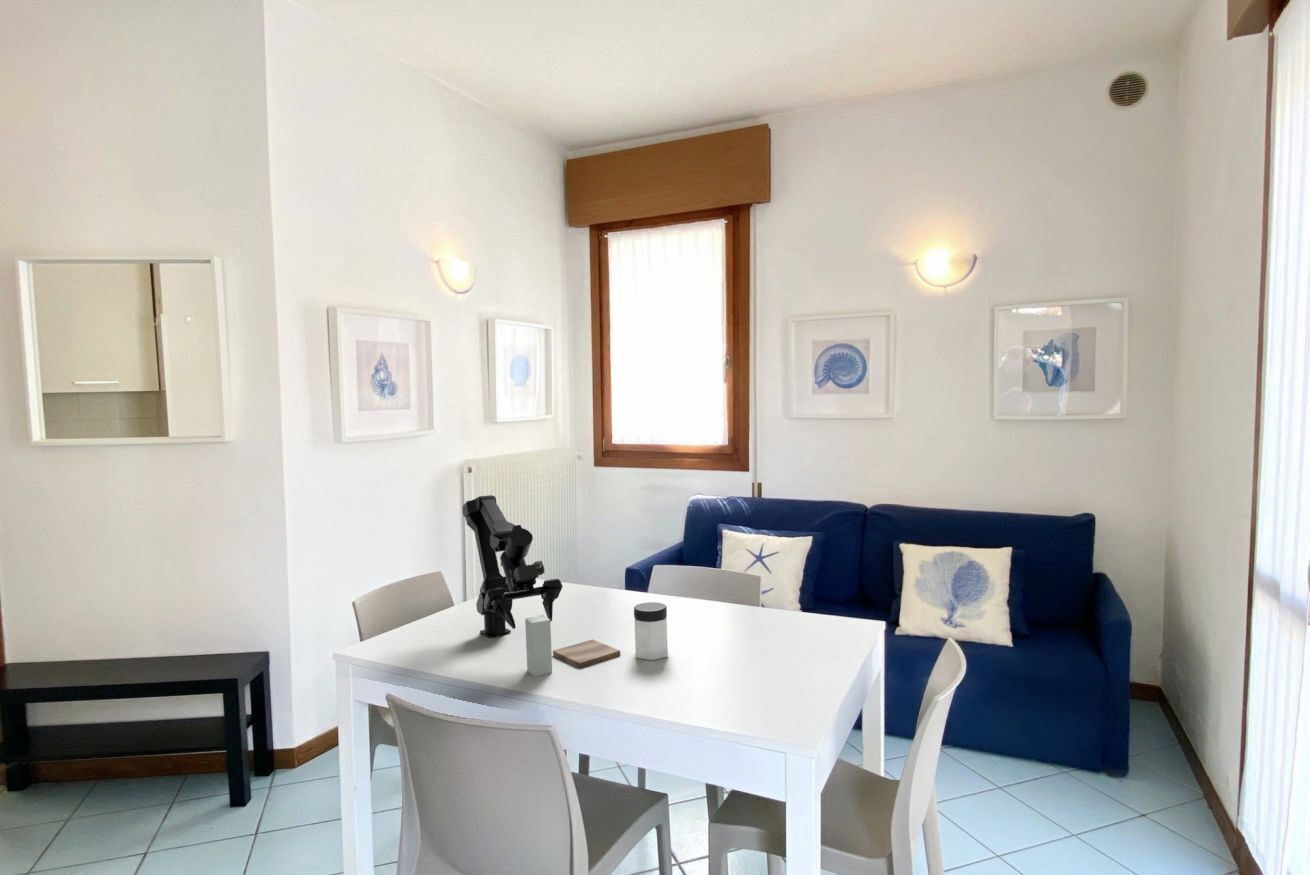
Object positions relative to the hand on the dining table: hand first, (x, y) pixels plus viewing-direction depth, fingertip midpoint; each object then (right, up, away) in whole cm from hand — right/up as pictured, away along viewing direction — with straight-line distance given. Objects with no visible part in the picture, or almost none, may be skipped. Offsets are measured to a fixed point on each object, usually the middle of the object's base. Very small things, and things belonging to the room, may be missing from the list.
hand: (533, 624), depth 167 cm
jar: (+28, -9, +6) cm, 31 cm away
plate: (+12, -10, +7) cm, 17 cm away
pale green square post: (+2, -10, -3) cm, 11 cm away
